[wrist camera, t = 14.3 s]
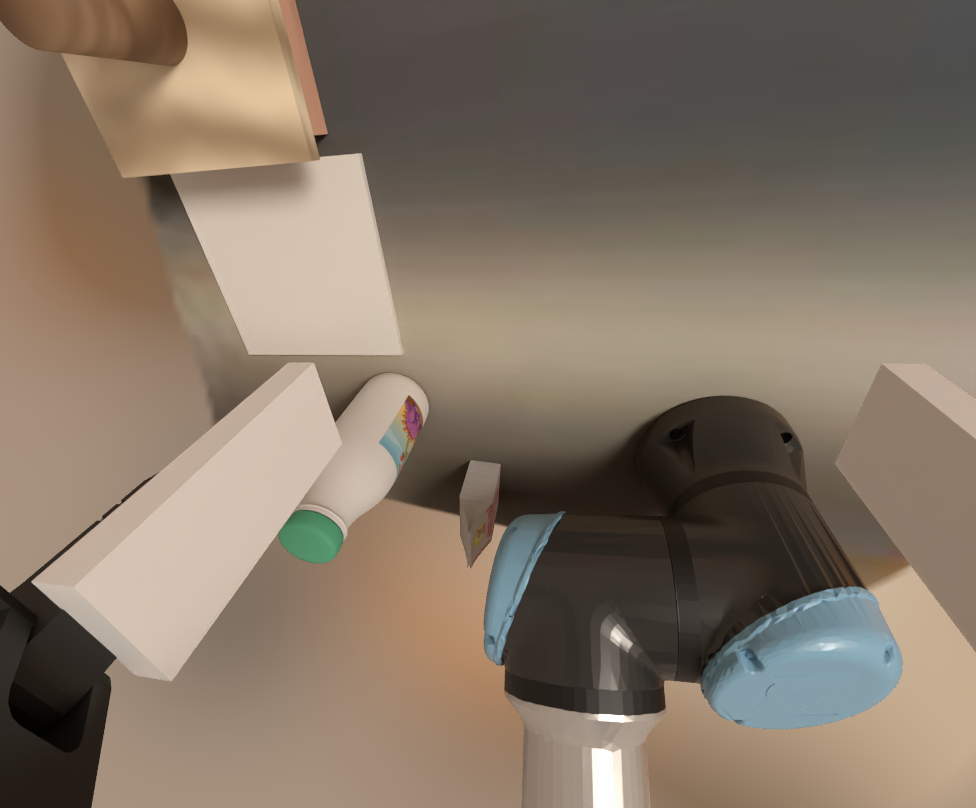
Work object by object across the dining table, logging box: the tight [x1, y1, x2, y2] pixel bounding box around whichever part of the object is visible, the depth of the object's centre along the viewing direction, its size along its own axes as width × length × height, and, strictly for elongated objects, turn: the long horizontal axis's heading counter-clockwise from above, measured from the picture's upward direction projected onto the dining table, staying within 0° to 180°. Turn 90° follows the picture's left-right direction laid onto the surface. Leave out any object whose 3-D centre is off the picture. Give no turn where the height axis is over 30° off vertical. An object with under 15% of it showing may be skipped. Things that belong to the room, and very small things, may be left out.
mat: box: [170, 153, 404, 355], centre depth 41 cm, size 18×18×1 cm
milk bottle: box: [279, 373, 429, 563], centre depth 40 cm, size 8×8×20 cm
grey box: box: [460, 460, 501, 568], centre depth 49 cm, size 4×7×10 cm, turn 179°
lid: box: [0, 0, 320, 178], centre depth 24 cm, size 16×16×9 cm
